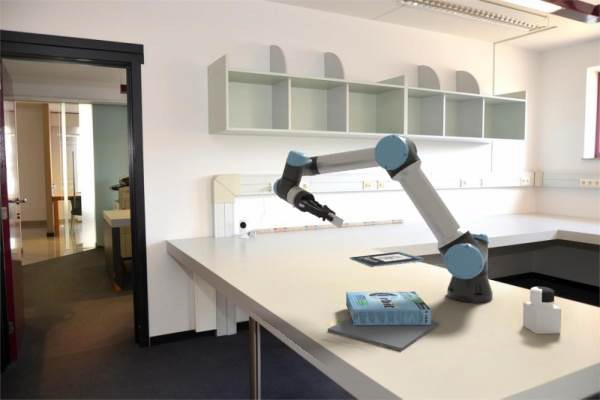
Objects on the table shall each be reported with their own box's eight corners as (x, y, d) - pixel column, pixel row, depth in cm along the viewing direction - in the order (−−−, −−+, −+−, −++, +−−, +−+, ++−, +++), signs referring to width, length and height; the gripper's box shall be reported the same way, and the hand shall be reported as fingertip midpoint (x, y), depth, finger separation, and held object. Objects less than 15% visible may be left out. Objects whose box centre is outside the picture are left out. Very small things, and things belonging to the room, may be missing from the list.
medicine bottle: (546, 324, 132) (547, 284, 131) (561, 333, 125) (562, 291, 124) (522, 325, 132) (523, 285, 131) (535, 334, 125) (537, 291, 124)
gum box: (352, 325, 131) (431, 326, 130) (352, 308, 130) (431, 308, 130) (346, 305, 150) (415, 306, 150) (346, 290, 150) (415, 290, 149)
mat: (438, 324, 133) (438, 322, 133) (401, 351, 115) (401, 348, 115) (370, 310, 148) (370, 307, 148) (327, 331, 129) (327, 328, 129)
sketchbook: (349, 260, 231) (349, 256, 231) (399, 254, 242) (399, 250, 242) (372, 268, 211) (372, 263, 211) (424, 262, 223) (424, 257, 222)
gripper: (311, 210, 173) (350, 235, 155) (284, 206, 165) (322, 232, 147) (317, 192, 172) (358, 215, 154) (290, 187, 163) (330, 211, 146)
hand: (340, 223), depth 150 cm, fingers closed
